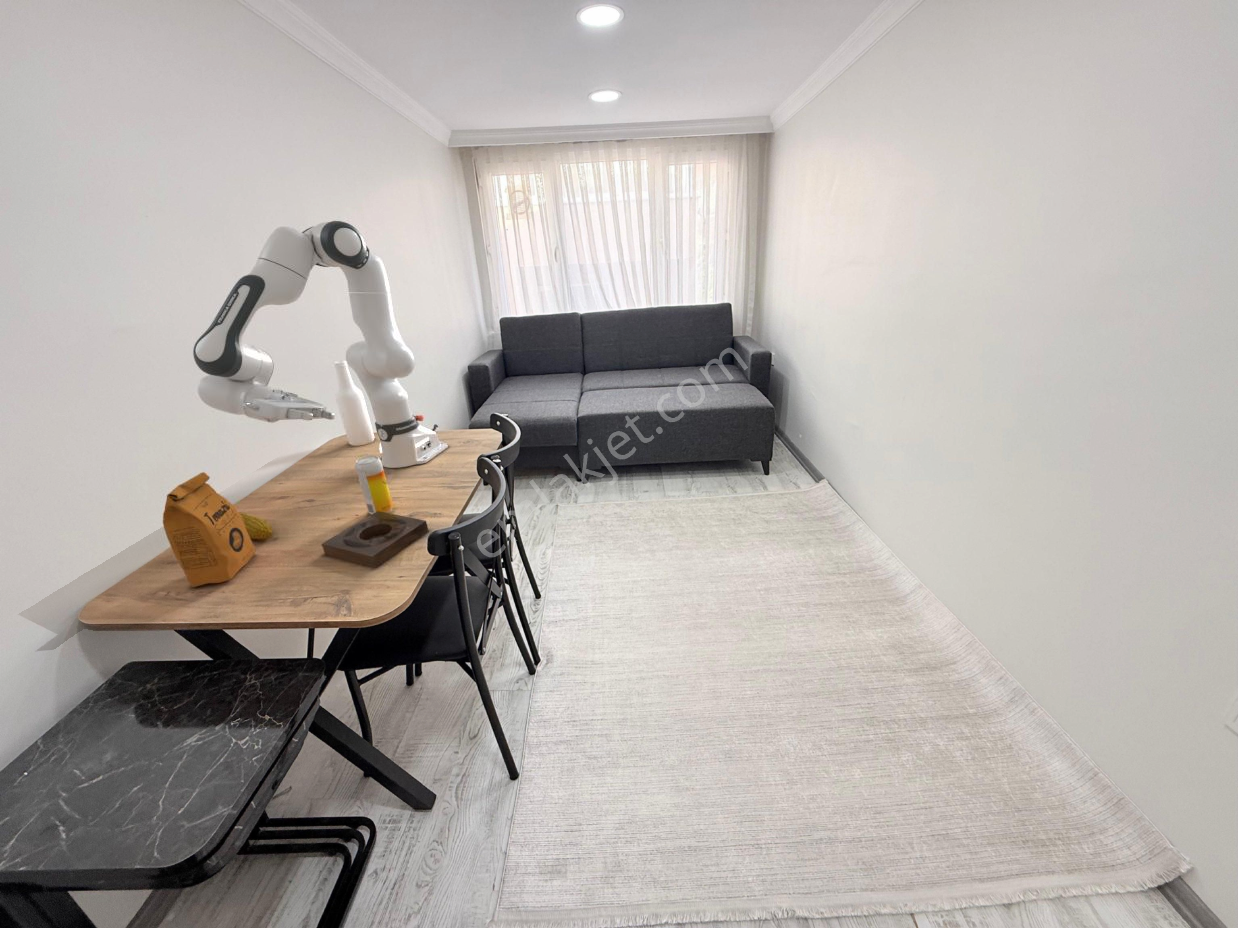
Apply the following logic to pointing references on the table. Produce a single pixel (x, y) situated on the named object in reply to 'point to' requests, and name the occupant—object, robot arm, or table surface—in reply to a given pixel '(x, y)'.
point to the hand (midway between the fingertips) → (322, 416)
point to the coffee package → (205, 532)
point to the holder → (377, 551)
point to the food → (256, 527)
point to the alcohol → (352, 408)
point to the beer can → (374, 484)
